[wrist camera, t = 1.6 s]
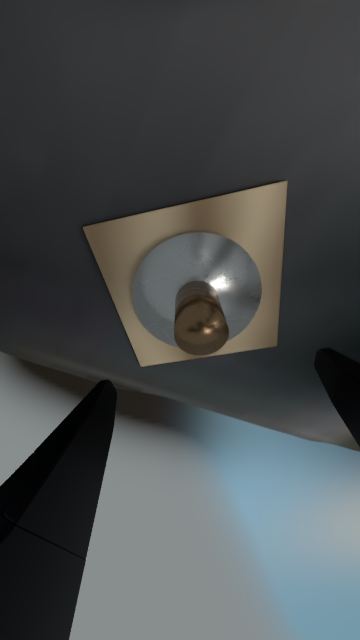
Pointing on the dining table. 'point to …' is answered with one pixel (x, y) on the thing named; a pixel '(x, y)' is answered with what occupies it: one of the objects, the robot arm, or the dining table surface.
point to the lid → (197, 291)
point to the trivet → (203, 215)
